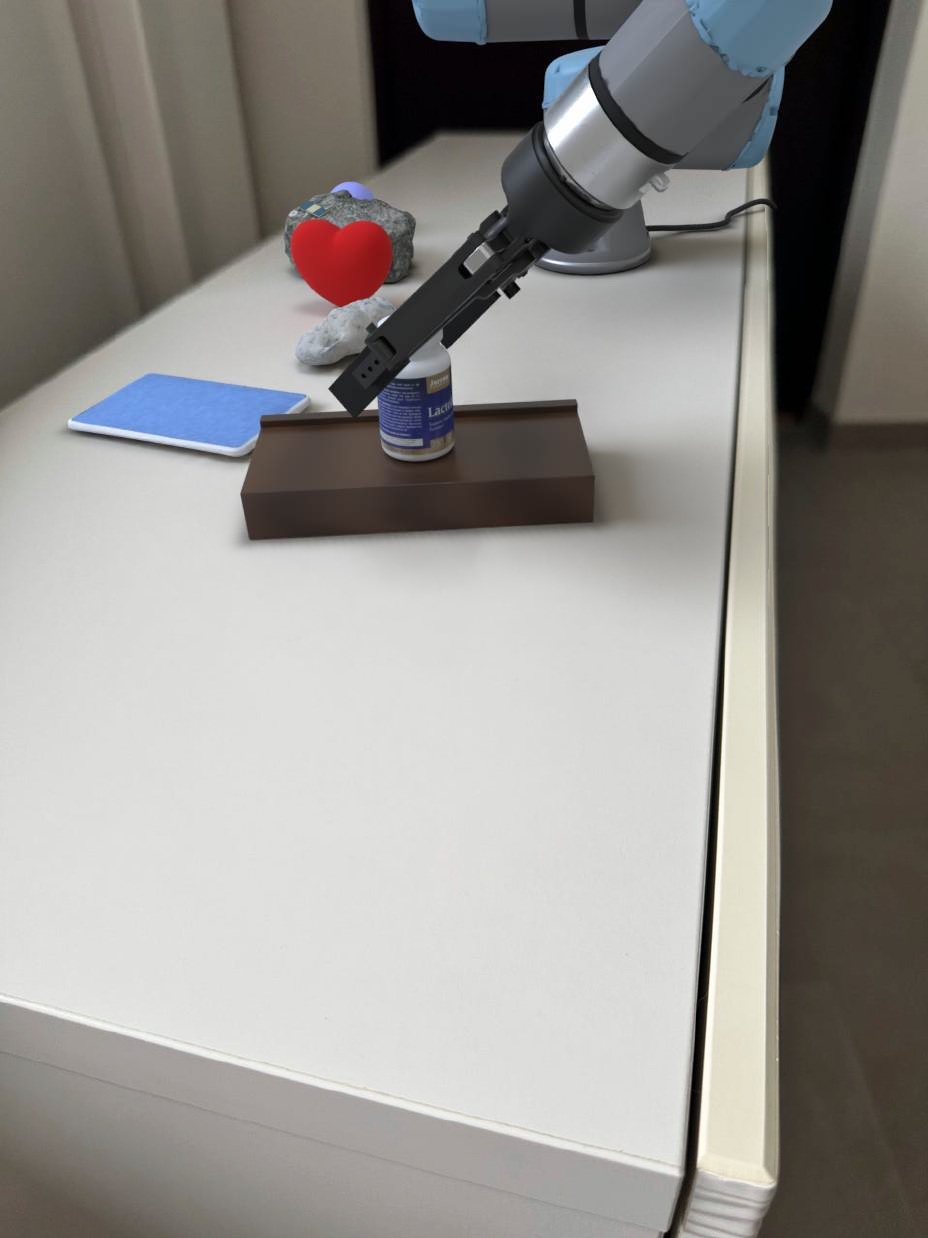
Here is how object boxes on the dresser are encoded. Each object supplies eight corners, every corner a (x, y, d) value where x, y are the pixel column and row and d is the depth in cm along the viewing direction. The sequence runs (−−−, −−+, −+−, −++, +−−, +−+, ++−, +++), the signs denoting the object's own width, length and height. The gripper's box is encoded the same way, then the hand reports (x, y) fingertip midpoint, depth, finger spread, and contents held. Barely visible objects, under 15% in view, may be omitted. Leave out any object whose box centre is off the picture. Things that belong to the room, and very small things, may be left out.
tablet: (65, 433, 93) (61, 420, 93) (150, 380, 103) (147, 368, 102) (241, 465, 87) (239, 451, 86) (316, 405, 96) (314, 392, 95)
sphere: (383, 227, 144) (378, 175, 140) (374, 242, 139) (369, 188, 135) (334, 228, 145) (328, 176, 141) (324, 243, 139) (317, 189, 135)
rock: (443, 243, 131) (426, 170, 124) (404, 311, 124) (383, 238, 116) (324, 240, 138) (300, 171, 130) (279, 305, 130) (252, 235, 122)
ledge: (575, 449, 86) (576, 398, 84) (593, 522, 76) (595, 467, 74) (269, 464, 86) (261, 414, 84) (249, 540, 77) (238, 486, 74)
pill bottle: (446, 466, 76) (438, 337, 70) (373, 462, 77) (359, 335, 71) (462, 432, 81) (456, 308, 75) (392, 429, 82) (381, 306, 76)
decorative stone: (363, 326, 112) (358, 280, 109) (413, 336, 109) (410, 289, 106) (286, 369, 103) (278, 320, 100) (338, 381, 100) (332, 330, 97)
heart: (291, 316, 116) (278, 225, 110) (309, 300, 120) (297, 212, 114) (388, 321, 113) (380, 228, 108) (403, 304, 118) (396, 214, 112)
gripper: (540, 276, 53) (335, 478, 68) (689, 166, 70) (499, 346, 85) (445, 161, 52) (258, 391, 67) (620, 78, 69) (440, 275, 84)
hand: (393, 366), depth 76 cm, fingers open, 13 cm apart
